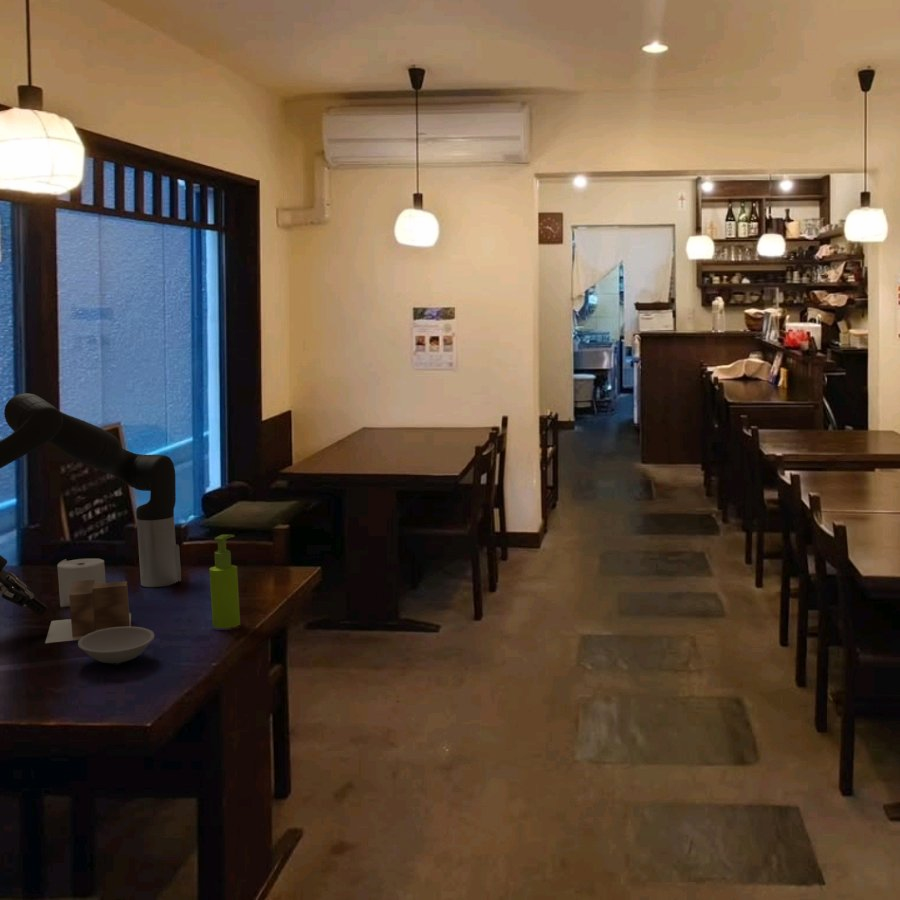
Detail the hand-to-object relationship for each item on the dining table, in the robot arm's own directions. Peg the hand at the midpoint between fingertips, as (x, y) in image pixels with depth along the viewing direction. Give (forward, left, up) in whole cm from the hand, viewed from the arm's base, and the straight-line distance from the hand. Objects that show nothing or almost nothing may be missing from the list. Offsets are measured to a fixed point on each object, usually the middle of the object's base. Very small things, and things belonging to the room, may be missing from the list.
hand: (44, 611), depth 231 cm
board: (-13, +8, -5) cm, 16 cm away
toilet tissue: (-18, -20, -6) cm, 28 cm away
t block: (-10, +6, -4) cm, 12 cm away
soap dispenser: (-29, +25, -6) cm, 39 cm away
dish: (0, +30, -6) cm, 30 cm away
